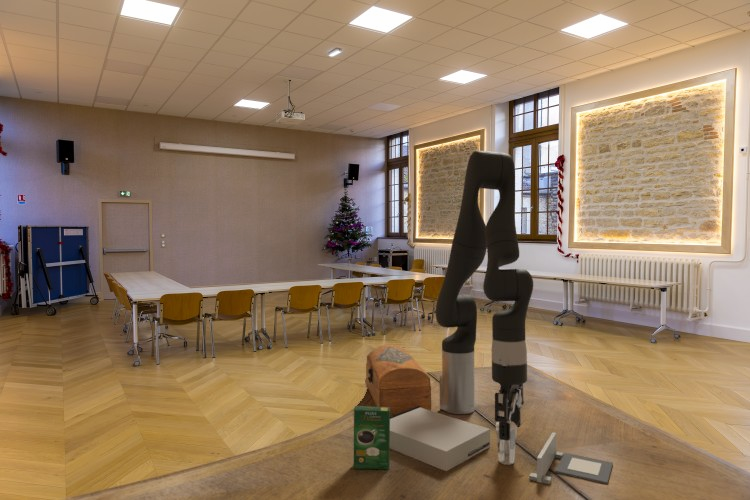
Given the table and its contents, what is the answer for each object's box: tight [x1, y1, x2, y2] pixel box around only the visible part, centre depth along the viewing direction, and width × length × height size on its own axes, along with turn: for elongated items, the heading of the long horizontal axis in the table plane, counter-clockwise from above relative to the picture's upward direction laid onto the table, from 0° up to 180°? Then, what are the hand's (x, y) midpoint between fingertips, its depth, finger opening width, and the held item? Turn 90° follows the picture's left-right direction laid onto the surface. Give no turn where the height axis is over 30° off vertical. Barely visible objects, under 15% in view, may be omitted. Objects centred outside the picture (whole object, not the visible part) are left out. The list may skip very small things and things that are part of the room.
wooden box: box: [365, 344, 432, 416], centre depth 154 cm, size 30×16×14 cm, turn 7°
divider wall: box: [528, 431, 564, 485], centre depth 107 cm, size 4×15×5 cm, turn 149°
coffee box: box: [353, 405, 390, 471], centre depth 108 cm, size 8×3×13 cm, turn 86°
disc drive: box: [389, 406, 491, 472], centre depth 120 cm, size 18×22×5 cm
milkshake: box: [495, 417, 522, 466], centre depth 109 cm, size 4×5×10 cm
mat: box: [555, 452, 613, 485], centre depth 106 cm, size 10×10×1 cm
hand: (510, 432), depth 109 cm, fingers open, 8 cm apart
